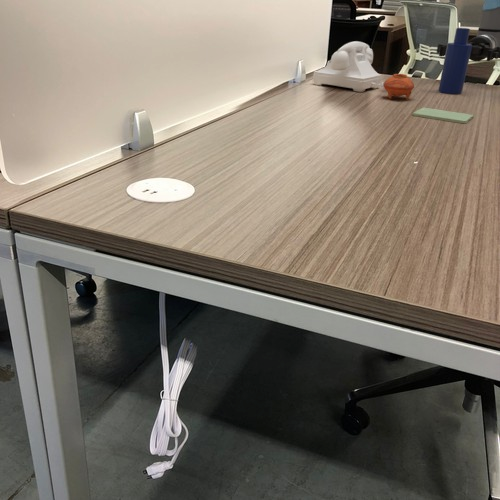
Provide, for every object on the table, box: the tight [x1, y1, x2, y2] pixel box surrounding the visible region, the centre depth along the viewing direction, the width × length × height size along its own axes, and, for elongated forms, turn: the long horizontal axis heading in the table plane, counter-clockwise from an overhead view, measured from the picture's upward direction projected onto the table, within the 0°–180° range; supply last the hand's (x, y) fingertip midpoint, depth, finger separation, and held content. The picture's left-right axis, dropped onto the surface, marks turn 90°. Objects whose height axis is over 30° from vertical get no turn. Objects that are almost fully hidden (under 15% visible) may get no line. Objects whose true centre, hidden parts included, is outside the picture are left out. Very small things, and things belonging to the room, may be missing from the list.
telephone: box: [312, 40, 385, 93], centre depth 148 cm, size 25×21×12 cm
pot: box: [382, 73, 415, 100], centre depth 135 cm, size 8×8×7 cm
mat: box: [411, 107, 475, 125], centre depth 118 cm, size 12×8×1 cm, turn 56°
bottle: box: [438, 27, 472, 95], centre depth 143 cm, size 6×6×17 cm
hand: (464, 53), depth 148 cm, fingers open, 13 cm apart
